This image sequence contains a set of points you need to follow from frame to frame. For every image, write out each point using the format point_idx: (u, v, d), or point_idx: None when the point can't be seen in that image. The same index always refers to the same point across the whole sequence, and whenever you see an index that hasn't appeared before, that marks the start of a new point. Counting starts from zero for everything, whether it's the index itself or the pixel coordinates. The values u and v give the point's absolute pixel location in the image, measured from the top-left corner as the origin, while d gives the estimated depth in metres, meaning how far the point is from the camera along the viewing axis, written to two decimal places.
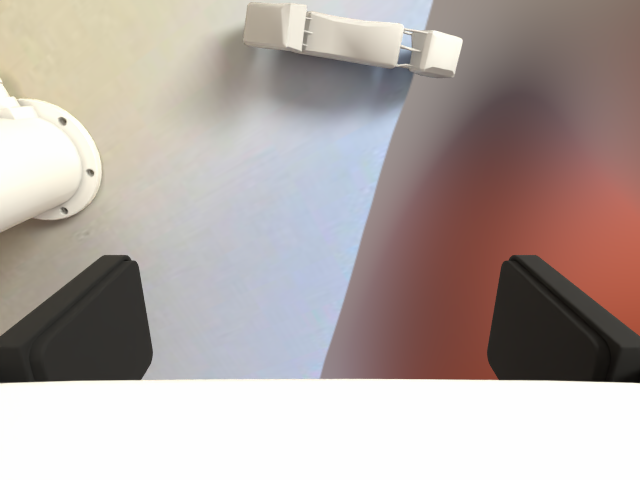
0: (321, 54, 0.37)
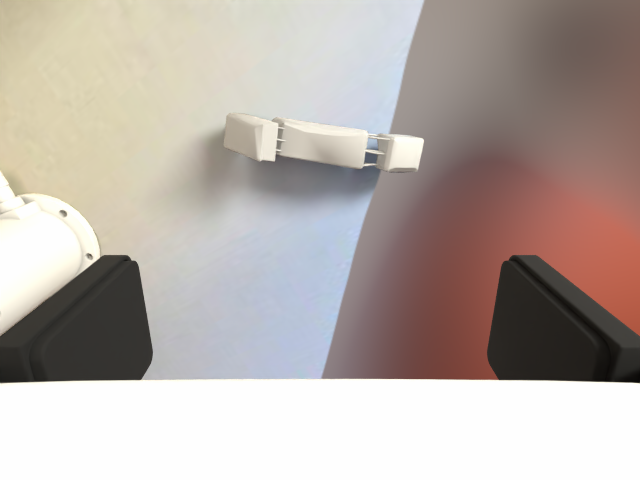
0: (294, 158, 0.41)
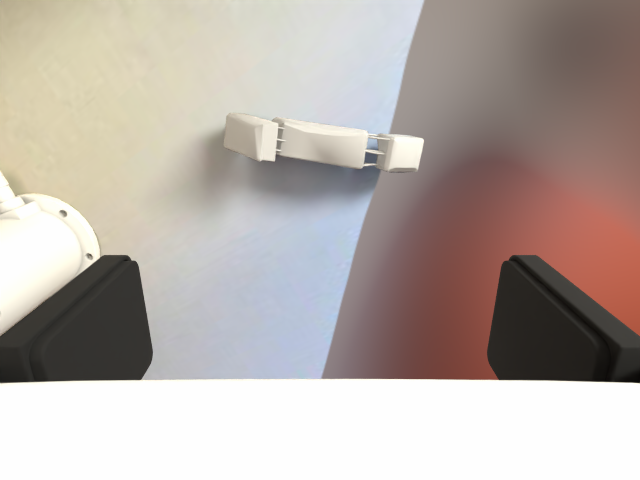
0: (294, 158, 0.41)
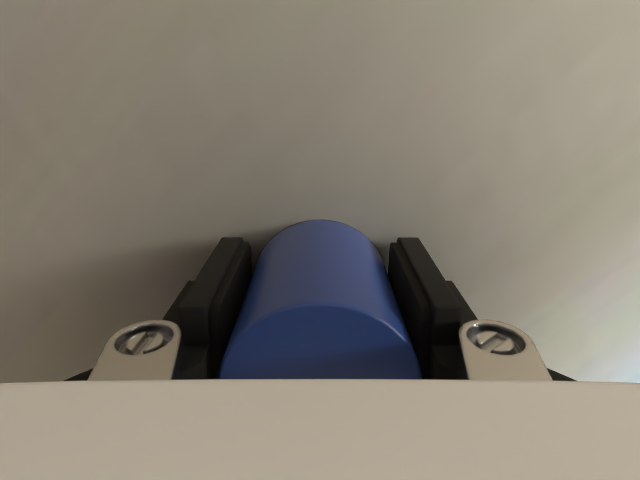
0: None
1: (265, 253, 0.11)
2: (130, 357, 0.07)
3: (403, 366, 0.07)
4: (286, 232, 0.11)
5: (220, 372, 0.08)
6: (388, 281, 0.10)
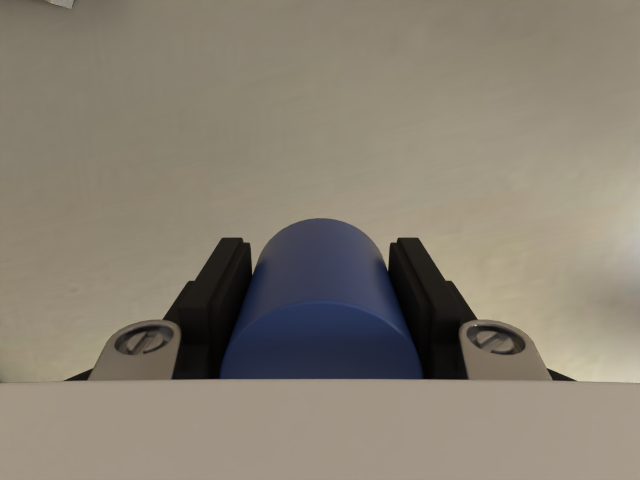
0: None
1: (266, 251, 0.11)
2: (129, 356, 0.07)
3: (404, 364, 0.07)
4: (287, 230, 0.11)
5: (221, 370, 0.08)
6: (389, 279, 0.10)
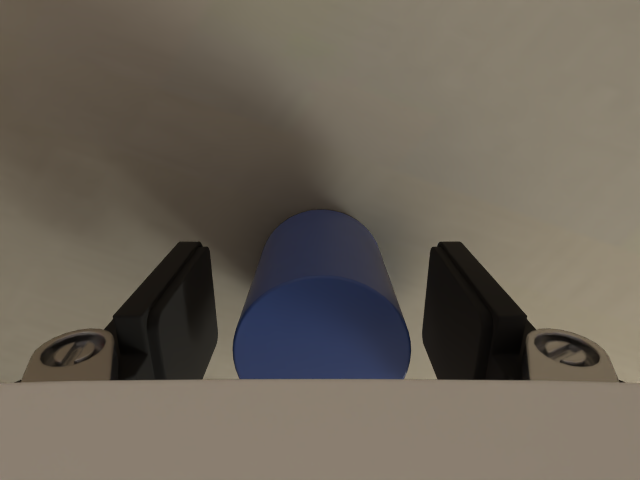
0: None
1: (271, 239, 0.12)
2: (59, 368, 0.06)
3: (394, 332, 0.09)
4: (290, 220, 0.12)
5: (235, 338, 0.09)
6: (382, 263, 0.11)
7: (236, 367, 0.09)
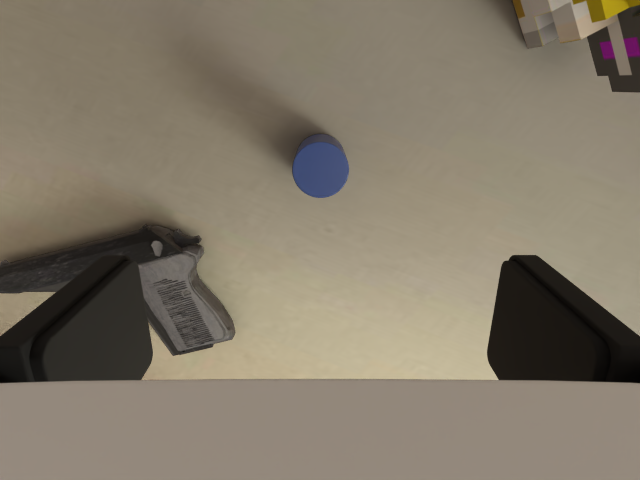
0: None
1: (301, 143, 0.31)
2: None
3: (343, 161, 0.28)
4: (308, 137, 0.31)
5: (293, 163, 0.28)
6: None
7: (293, 174, 0.28)
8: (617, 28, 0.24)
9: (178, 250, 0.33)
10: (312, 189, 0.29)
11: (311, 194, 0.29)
